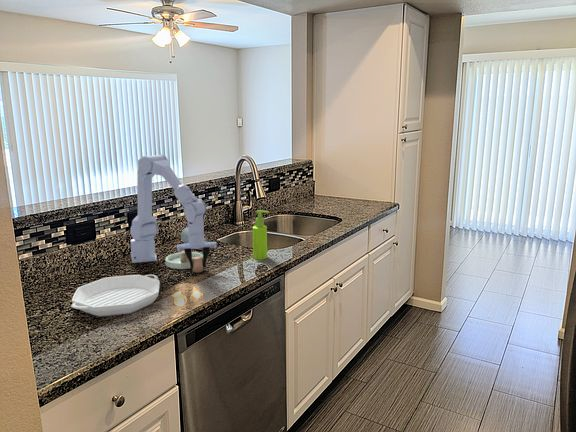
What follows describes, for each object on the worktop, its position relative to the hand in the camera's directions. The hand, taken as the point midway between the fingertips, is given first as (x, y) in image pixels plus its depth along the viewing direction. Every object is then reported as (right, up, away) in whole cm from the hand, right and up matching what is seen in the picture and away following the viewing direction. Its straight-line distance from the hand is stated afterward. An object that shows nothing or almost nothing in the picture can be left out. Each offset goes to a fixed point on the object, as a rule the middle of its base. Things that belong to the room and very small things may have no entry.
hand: (197, 267), depth 171 cm
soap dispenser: (+23, +2, +16) cm, 29 cm away
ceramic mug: (-9, +6, +36) cm, 37 cm away
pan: (-20, -8, -28) cm, 35 cm away
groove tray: (-7, +1, +9) cm, 12 cm away
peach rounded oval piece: (0, -1, 0) cm, 1 cm away
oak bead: (-6, 0, +6) cm, 8 cm away
